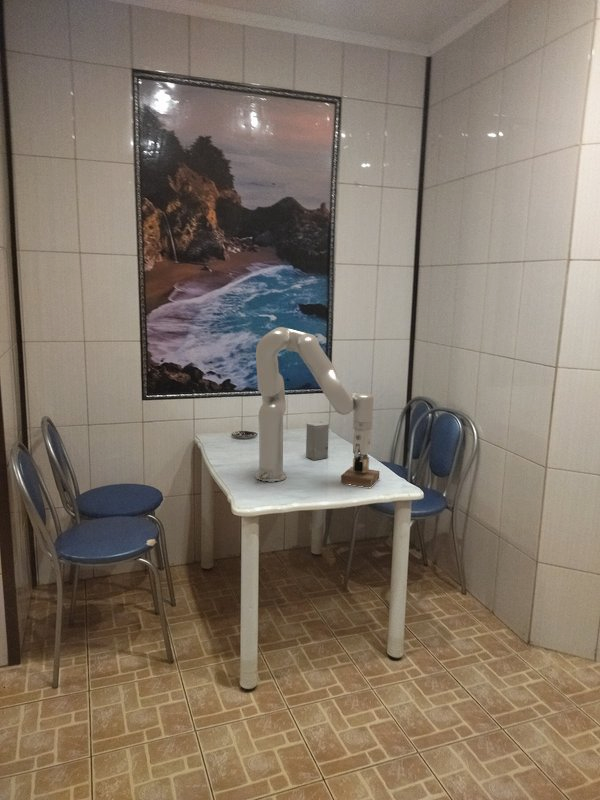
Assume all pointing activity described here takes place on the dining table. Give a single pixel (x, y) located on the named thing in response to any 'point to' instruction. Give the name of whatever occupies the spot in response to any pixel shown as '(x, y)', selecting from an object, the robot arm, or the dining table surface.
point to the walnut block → (360, 477)
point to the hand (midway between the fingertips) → (360, 468)
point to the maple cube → (365, 464)
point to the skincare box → (317, 440)
